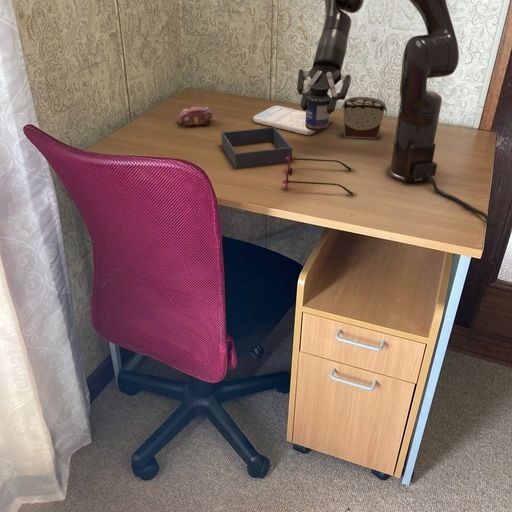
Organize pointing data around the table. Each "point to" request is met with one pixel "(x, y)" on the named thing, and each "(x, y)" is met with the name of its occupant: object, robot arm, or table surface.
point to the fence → (256, 156)
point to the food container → (363, 117)
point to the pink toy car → (195, 115)
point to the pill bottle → (317, 107)
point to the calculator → (284, 119)
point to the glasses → (312, 182)
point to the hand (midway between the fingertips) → (316, 110)
